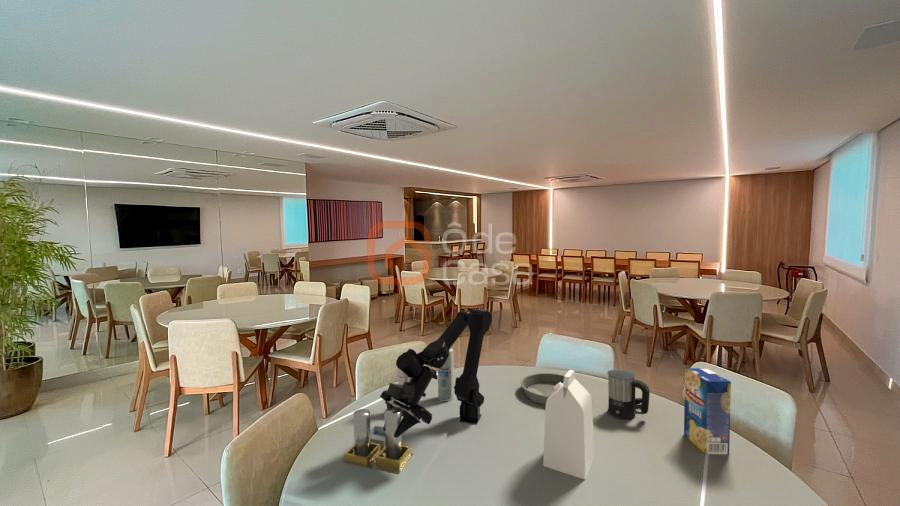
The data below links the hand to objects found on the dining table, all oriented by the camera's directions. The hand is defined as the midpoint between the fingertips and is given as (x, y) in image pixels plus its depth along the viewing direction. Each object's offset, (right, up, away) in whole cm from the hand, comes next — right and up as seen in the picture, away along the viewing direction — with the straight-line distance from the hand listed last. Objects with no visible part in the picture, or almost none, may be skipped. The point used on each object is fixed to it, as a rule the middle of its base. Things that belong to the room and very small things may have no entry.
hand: (389, 434), depth 106 cm
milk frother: (+84, -7, +31) cm, 89 cm away
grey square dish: (-5, -8, +12) cm, 16 cm away
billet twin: (-8, -8, +3) cm, 12 cm away
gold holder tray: (-4, -9, +2) cm, 10 cm away
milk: (+52, -8, +1) cm, 53 cm away
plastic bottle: (+1, -8, +33) cm, 34 cm away
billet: (+1, -7, +1) cm, 7 cm away
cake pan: (+59, -6, +46) cm, 75 cm away
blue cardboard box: (+97, -7, +8) cm, 98 cm away
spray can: (+16, -7, +43) cm, 46 cm away
